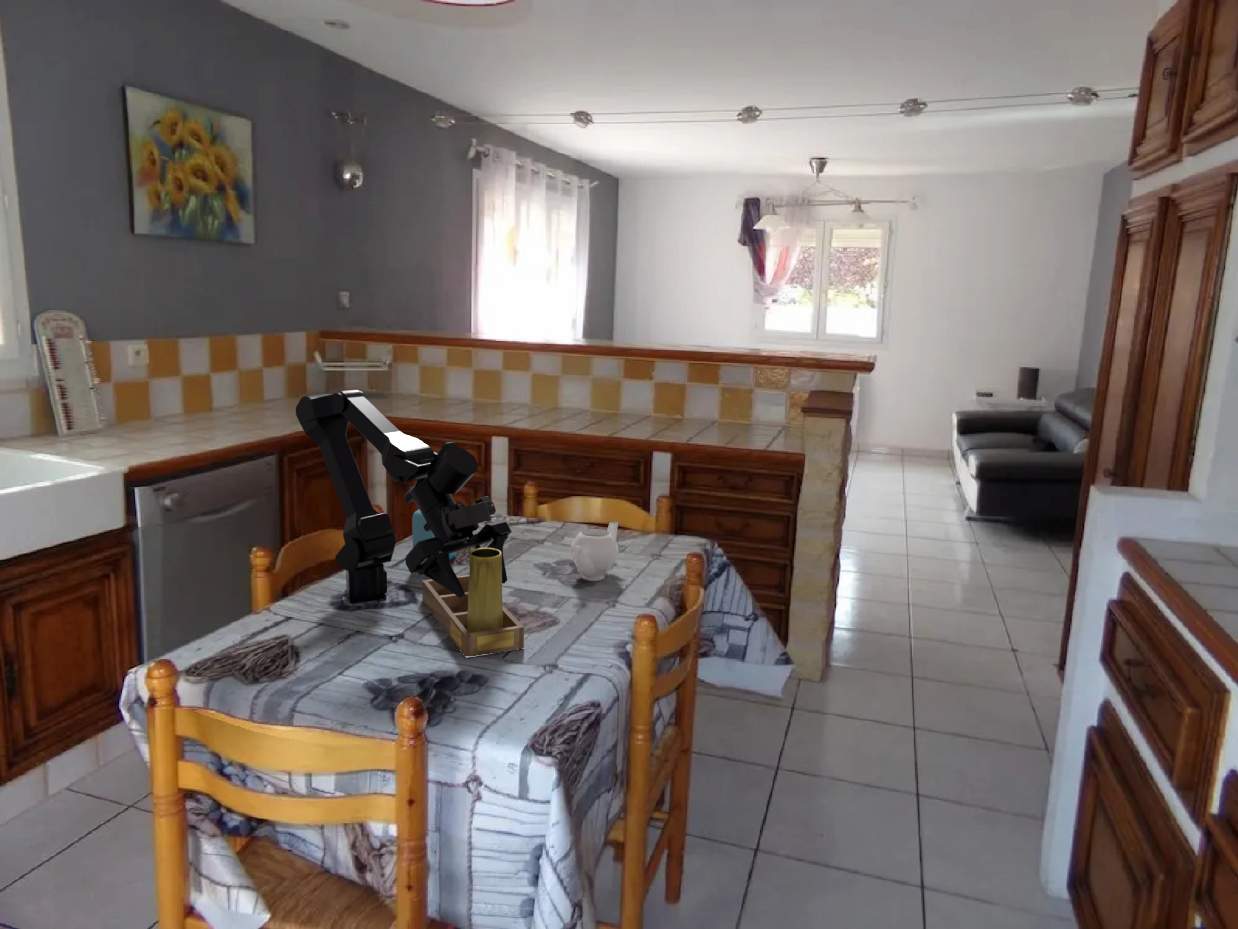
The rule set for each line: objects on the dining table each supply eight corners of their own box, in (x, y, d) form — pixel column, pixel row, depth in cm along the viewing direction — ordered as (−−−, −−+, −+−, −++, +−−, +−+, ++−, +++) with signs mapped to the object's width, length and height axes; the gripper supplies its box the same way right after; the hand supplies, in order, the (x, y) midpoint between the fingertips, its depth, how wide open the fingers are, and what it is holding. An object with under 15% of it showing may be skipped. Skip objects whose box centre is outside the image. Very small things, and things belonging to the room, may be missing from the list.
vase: (495, 626, 145) (495, 545, 142) (509, 639, 140) (510, 555, 137) (460, 632, 142) (460, 549, 139) (474, 646, 137) (474, 560, 134)
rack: (464, 659, 134) (464, 636, 134) (421, 600, 158) (421, 580, 158) (524, 649, 139) (524, 627, 138) (473, 593, 163) (473, 574, 162)
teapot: (549, 588, 167) (550, 542, 165) (593, 559, 185) (595, 518, 183) (593, 596, 163) (595, 549, 161) (634, 567, 181) (636, 524, 179)
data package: (433, 572, 173) (432, 514, 171) (412, 570, 174) (411, 512, 172) (457, 555, 185) (457, 500, 182) (437, 553, 186) (437, 498, 183)
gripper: (416, 491, 132) (464, 578, 128) (504, 473, 146) (551, 551, 142) (385, 530, 138) (430, 614, 134) (472, 509, 153) (516, 584, 148)
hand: (484, 589), depth 139 cm, fingers open, 9 cm apart
